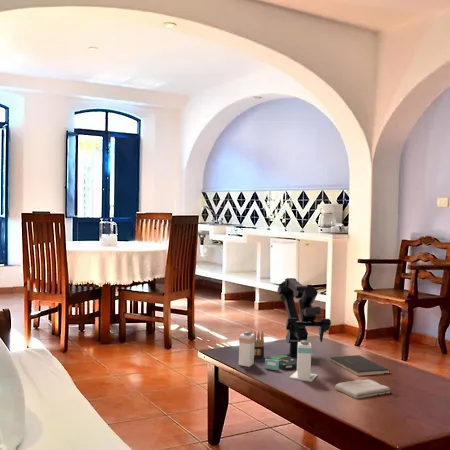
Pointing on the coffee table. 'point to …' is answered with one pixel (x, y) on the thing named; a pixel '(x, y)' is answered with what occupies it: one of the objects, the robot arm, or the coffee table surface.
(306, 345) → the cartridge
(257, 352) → the ammunition clip
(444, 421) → the coffee table surface
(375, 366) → the hardcover book
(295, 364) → the disk drive
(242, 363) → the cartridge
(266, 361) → the teal cartridge with label
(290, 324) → the robot arm
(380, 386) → the washcloth
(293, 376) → the mat
